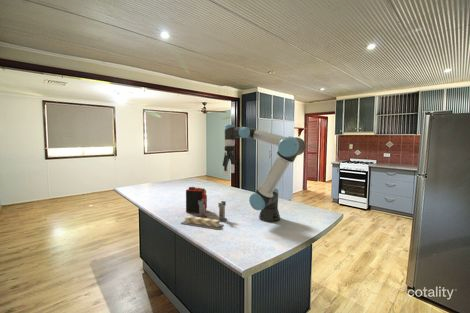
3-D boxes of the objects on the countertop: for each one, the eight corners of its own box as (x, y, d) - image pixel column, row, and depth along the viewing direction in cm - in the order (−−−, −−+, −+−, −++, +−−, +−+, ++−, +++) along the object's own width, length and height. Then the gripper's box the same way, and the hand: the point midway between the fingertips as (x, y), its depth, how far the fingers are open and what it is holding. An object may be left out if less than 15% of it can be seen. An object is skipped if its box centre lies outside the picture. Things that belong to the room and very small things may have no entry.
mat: (223, 225, 152) (223, 224, 152) (218, 229, 145) (218, 228, 145) (187, 220, 162) (187, 219, 162) (180, 223, 154) (180, 223, 154)
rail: (219, 225, 151) (219, 220, 151) (217, 227, 148) (217, 221, 147) (187, 220, 159) (187, 215, 159) (185, 222, 156) (185, 217, 156)
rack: (226, 219, 164) (226, 201, 164) (223, 222, 159) (223, 203, 158) (200, 215, 172) (201, 198, 171) (197, 218, 166) (197, 200, 165)
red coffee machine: (207, 210, 185) (208, 186, 183) (202, 214, 175) (202, 188, 174) (190, 208, 189) (190, 184, 188) (184, 212, 179) (184, 187, 178)
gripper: (230, 145, 182) (230, 171, 183) (218, 145, 158) (217, 176, 160) (239, 145, 179) (239, 172, 181) (228, 146, 156) (227, 176, 157)
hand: (229, 174), depth 170 cm, fingers open, 13 cm apart
